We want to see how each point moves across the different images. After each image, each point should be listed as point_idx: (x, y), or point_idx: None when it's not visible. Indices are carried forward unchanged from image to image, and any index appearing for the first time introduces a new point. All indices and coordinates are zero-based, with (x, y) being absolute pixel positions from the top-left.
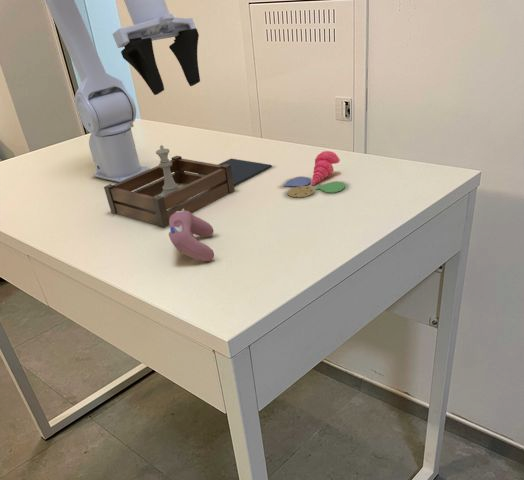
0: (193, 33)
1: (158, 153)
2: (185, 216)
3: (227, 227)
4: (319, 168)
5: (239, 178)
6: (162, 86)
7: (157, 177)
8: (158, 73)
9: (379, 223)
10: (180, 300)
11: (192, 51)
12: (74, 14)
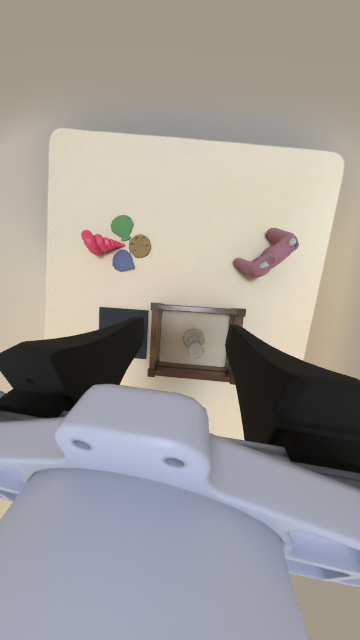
0: (42, 346)
1: (203, 350)
2: (278, 245)
3: (217, 261)
4: (107, 240)
5: (136, 314)
6: (235, 325)
7: (181, 369)
8: (243, 334)
9: (168, 152)
10: (320, 215)
11: (103, 335)
12: None
